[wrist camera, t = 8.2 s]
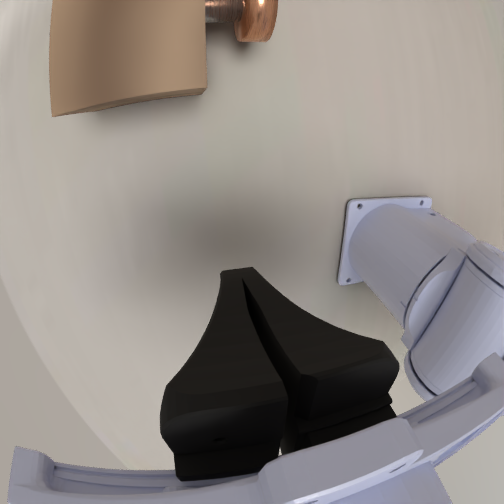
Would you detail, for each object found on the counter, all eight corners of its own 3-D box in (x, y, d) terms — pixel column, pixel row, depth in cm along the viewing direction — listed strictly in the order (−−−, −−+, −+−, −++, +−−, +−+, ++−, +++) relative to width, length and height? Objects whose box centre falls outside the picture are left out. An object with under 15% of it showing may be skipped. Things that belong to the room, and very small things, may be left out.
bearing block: (199, -35, 11) (206, -84, 6) (201, 94, 16) (207, 87, 10) (95, -17, 10) (63, -55, 4) (95, 111, 15) (51, 117, 9)
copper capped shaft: (255, -11, 12) (275, -39, 8) (257, 48, 14) (279, 32, 10) (72, 13, 10) (43, -6, 6) (71, 73, 12) (38, 68, 8)
